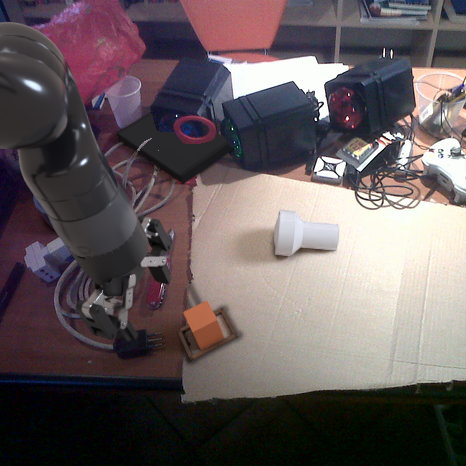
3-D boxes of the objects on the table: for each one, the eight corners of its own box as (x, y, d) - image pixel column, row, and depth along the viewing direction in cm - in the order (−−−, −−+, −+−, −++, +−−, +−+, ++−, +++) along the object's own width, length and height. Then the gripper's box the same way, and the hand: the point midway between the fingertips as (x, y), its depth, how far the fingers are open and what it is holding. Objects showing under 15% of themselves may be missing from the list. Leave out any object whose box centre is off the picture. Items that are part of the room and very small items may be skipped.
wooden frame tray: (192, 364, 75) (190, 360, 74) (157, 286, 85) (154, 281, 83) (239, 339, 77) (238, 335, 76) (199, 266, 87) (197, 261, 86)
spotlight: (273, 223, 91) (277, 200, 84) (333, 228, 92) (342, 206, 85) (271, 262, 87) (275, 241, 80) (333, 267, 88) (342, 247, 81)
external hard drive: (184, 187, 100) (181, 176, 98) (120, 142, 111) (115, 132, 109) (235, 151, 107) (232, 141, 105) (169, 113, 117) (166, 102, 115)
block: (201, 351, 76) (192, 332, 71) (191, 331, 78) (182, 312, 73) (224, 339, 77) (217, 319, 72) (214, 320, 79) (207, 300, 74)
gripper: (106, 173, 55) (150, 259, 68) (24, 271, 47) (91, 349, 59) (164, 185, 54) (198, 271, 66) (90, 289, 45) (144, 365, 57)
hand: (147, 307), depth 63 cm, fingers open, 8 cm apart
